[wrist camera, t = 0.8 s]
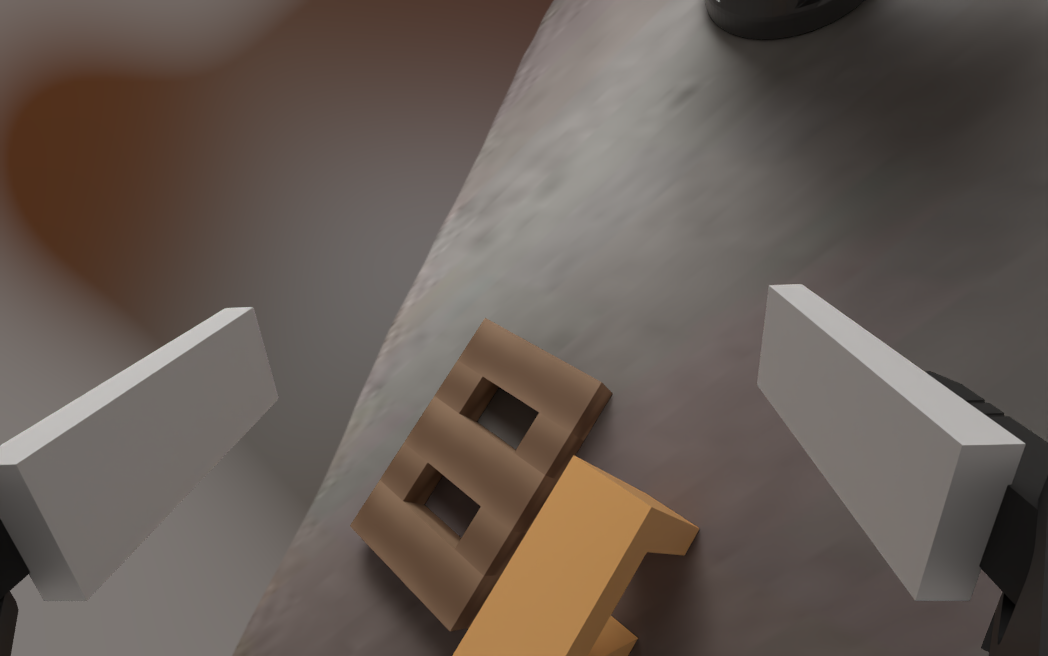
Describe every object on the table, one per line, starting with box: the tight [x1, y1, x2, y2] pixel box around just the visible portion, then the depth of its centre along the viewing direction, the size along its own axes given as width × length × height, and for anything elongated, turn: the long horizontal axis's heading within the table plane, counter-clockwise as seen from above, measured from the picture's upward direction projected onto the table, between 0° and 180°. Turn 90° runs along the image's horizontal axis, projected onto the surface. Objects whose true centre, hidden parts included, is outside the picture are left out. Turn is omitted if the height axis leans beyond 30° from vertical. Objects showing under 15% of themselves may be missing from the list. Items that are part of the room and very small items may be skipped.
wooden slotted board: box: [350, 318, 612, 632], centre depth 42 cm, size 20×12×3 cm, turn 143°
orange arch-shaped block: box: [452, 455, 700, 656], centre depth 29 cm, size 10×4×16 cm, turn 143°
